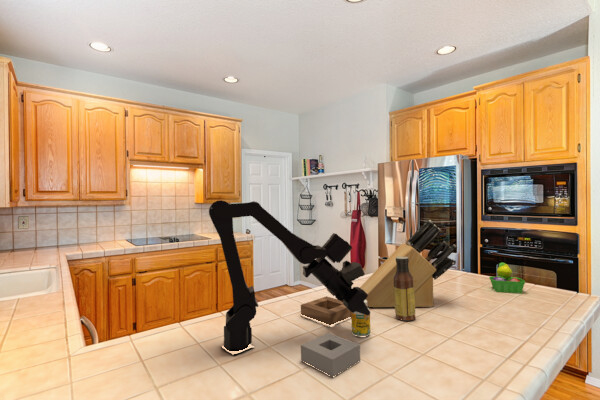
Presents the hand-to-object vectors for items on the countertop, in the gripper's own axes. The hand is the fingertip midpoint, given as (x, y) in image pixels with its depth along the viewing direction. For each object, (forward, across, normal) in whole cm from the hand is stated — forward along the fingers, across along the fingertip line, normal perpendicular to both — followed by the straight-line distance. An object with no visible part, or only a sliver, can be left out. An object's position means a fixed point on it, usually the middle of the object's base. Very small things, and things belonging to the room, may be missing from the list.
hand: (365, 310), depth 91 cm
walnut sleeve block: (0, +16, +9) cm, 18 cm away
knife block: (+23, +21, -13) cm, 34 cm away
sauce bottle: (+17, +8, -7) cm, 20 cm away
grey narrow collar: (-6, -13, +15) cm, 21 cm away
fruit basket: (+58, +25, -48) cm, 79 cm away
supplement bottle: (+4, 0, +6) cm, 7 cm away
